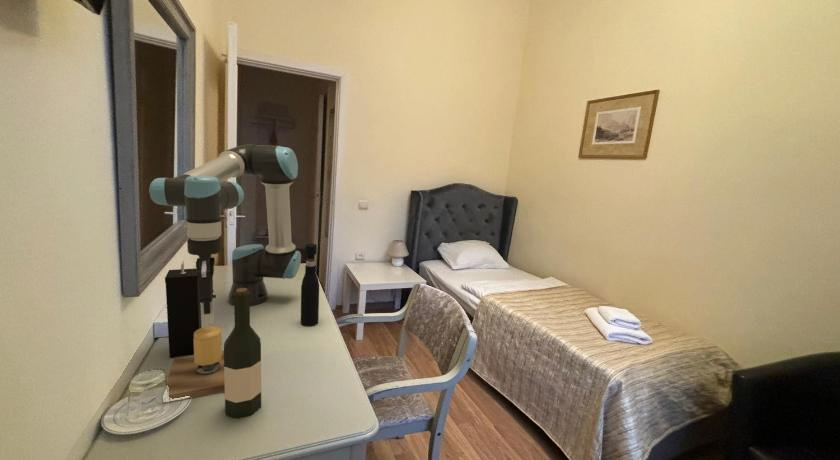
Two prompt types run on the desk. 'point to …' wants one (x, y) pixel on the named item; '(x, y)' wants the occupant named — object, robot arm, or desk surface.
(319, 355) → the desk surface
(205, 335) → the ochre cap
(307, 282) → the wine bottle
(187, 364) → the walnut board
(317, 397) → the desk surface
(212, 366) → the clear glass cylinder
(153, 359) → the desk surface
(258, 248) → the robot arm
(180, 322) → the black pillar candle
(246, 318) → the labelled green bottle
